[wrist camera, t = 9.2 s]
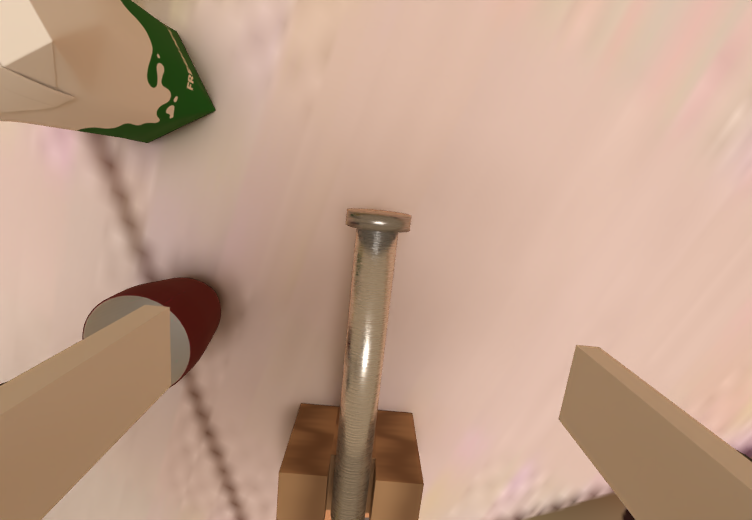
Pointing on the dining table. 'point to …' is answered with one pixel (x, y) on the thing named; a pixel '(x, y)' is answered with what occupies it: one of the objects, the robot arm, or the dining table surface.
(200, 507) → the dining table surface
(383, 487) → the cradle block
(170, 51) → the milk carton
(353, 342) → the shaft
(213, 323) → the mug
